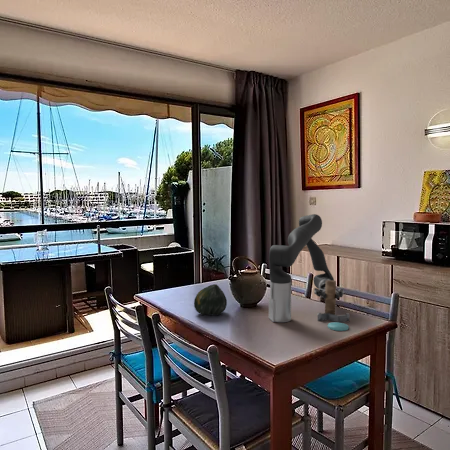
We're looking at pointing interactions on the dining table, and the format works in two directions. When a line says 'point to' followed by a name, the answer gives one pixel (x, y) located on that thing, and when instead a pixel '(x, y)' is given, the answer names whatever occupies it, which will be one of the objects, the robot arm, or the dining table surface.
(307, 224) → the robot arm
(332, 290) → the walnut peg
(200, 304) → the squash
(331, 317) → the zigzag rail
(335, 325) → the teal pad
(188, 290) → the dining table surface
